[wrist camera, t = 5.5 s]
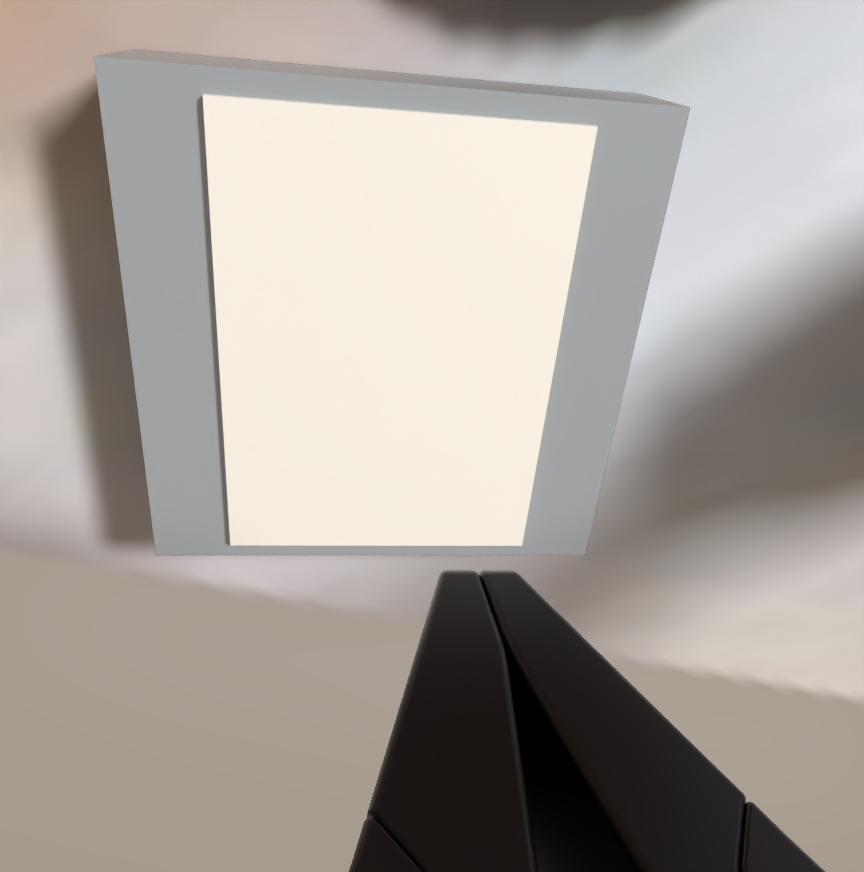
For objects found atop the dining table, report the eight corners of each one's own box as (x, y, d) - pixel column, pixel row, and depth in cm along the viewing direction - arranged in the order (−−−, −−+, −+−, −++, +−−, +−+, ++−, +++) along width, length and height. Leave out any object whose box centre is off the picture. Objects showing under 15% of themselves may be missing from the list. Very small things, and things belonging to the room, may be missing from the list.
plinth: (640, 93, 18) (694, 108, 15) (558, 497, 24) (587, 559, 21) (132, 49, 17) (90, 56, 14) (177, 492, 22) (153, 560, 20)
